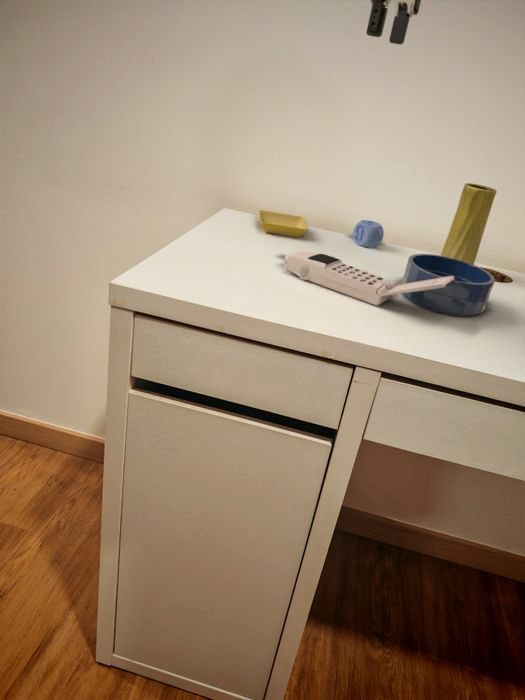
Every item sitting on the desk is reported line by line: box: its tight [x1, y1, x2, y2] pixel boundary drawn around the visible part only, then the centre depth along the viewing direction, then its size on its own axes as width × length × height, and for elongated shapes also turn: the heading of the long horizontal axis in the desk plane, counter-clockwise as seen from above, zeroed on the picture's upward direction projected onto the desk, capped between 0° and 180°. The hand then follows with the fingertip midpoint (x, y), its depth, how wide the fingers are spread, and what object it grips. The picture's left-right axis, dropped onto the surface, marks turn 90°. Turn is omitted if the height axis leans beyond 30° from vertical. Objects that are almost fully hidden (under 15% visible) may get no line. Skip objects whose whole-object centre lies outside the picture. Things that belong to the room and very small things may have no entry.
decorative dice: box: [352, 219, 385, 249], centre depth 106 cm, size 4×4×4 cm
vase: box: [440, 182, 498, 265], centre depth 99 cm, size 6×6×14 cm
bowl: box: [401, 253, 496, 317], centre depth 85 cm, size 12×12×5 cm
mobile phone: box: [283, 249, 455, 306], centre depth 82 cm, size 6×6×25 cm
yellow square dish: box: [258, 209, 309, 238], centre depth 106 cm, size 9×9×2 cm
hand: (385, 40), depth 89 cm, fingers open, 8 cm apart
